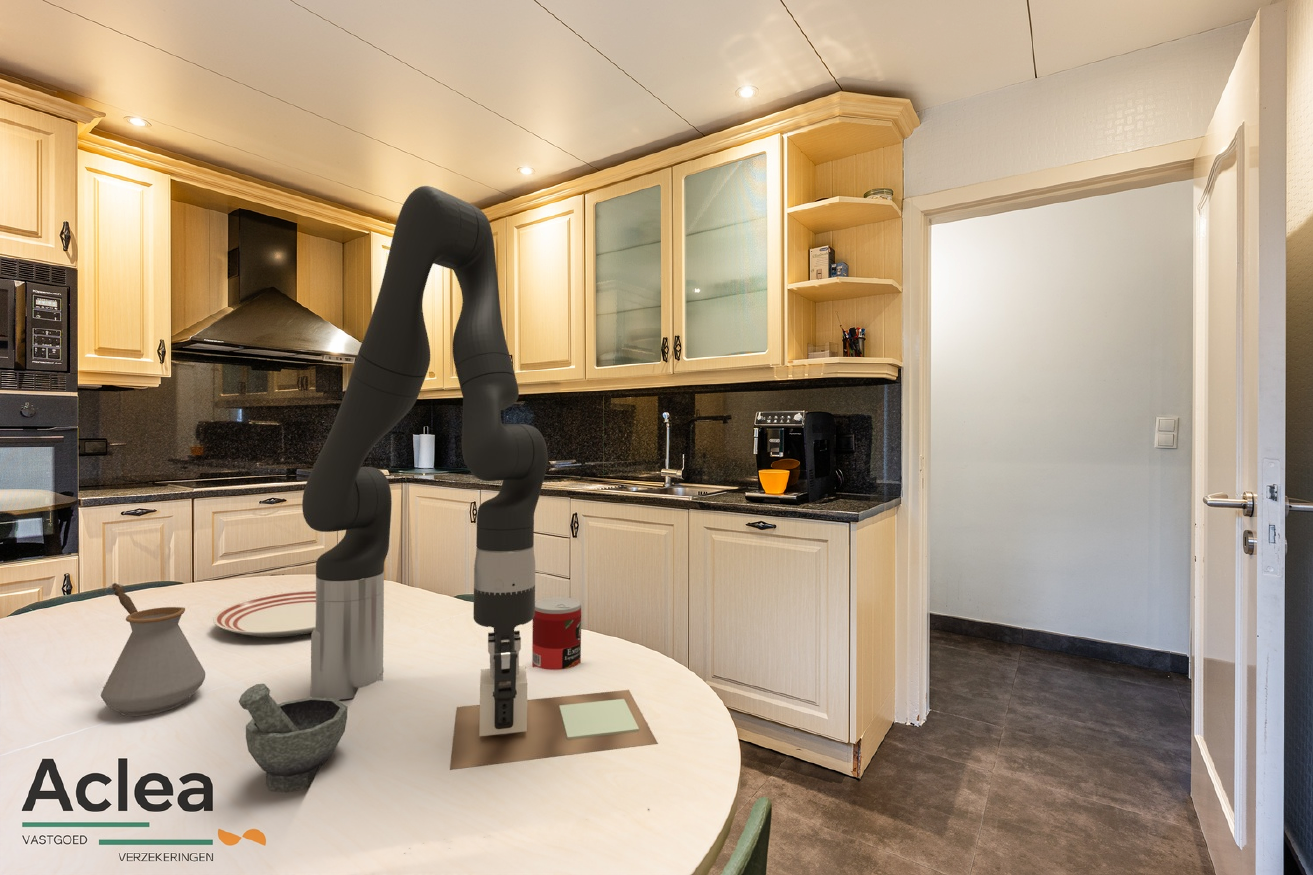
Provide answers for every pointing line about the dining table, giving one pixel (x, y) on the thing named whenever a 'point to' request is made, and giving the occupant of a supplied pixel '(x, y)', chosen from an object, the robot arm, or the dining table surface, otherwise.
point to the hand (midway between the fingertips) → (503, 715)
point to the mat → (597, 719)
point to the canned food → (556, 633)
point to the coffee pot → (152, 663)
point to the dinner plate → (271, 615)
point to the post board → (540, 733)
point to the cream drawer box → (489, 704)
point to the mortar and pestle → (291, 736)
